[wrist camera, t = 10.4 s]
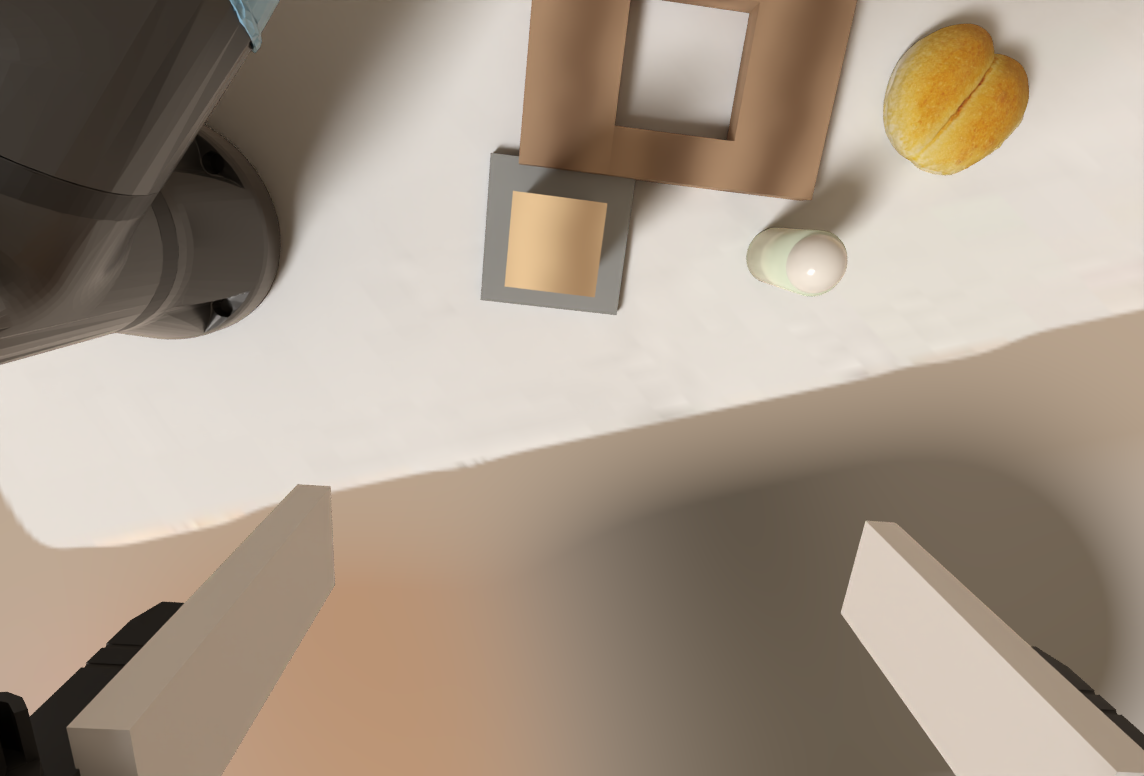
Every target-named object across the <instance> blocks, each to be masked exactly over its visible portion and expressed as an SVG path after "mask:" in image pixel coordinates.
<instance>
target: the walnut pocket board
mask: <svg viewBox="0 0 1144 776" xmlns="http://www.w3.org/2000/svg"><path fill="white" fill-rule="evenodd" d="M664 1H671V2H678V3H685V4H691V5H698V6H705V7H712V8H719V9H726V10H733V11H739V12H746V13H750V14H749V19H748V25H747V30H746V36H745V41H744V47H743V52H742V58H741V63H740V69H739V74H738V80H737V85H736V91H735V96H734V102H733V107H732V113H731V119H730V124H729V130H728V135H727V140H720V139H713V138H705V137H698V136H690V135H683V134H675V133H667V132H660V131H652V130H645V129H637V128H629V127H622V126H615V118H616V110H617V103H618V95H619V87H620V79H621V71H622V63H623V55H624V47H625V39H626V32H627V24H628V16H629V8H630V0H532V7H531V19H530V31H529V43H528V55H527V67H526V79H525V91H524V104H523V116H522V128H521V140H520V152H519V164H520V165H528V166H536V167H544V168H552V169H560V170H568V171H576V172H583V173H591V174H599V175H607V176H615V177H623V178H631V179H636V180H640V181H648V182H656V183H664V184H672V185H680V186H688V187H696V188H704V189H712V190H720V191H728V192H735V193H743V194H751V195H759V196H767V197H775V198H783V199H791V200H799V201H801V200H812V196H813V191H814V187H815V183H816V178H817V174H818V169H819V165H820V161H821V156H822V152H823V148H824V143H825V139H826V134H827V130H828V126H829V121H830V117H831V113H832V108H833V104H834V99H835V95H836V91H837V86H838V82H839V78H840V73H841V69H842V64H843V60H844V56H845V51H846V47H847V42H848V38H849V34H850V29H851V25H852V21H853V16H854V12H855V7H856V3H857V0H664Z"/></svg>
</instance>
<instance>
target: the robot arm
mask: <svg viewBox="0 0 1144 776" xmlns="http://www.w3.org/2000/svg"><path fill="white" fill-rule="evenodd" d="M279 1H280V0H0V365H1V364H5V363H9V362H12V361H16V360H19V359H23V358H27V357H30V356H34V355H37V354H41V353H45V352H48V351H52V350H55V349H59V348H63V347H66V346H70V345H73V344H77V343H80V342H84V341H88V340H91V339H95V338H98V337H102V336H105V335H108V334H112V333H120V334H128V335H135V336H142V337H150V338H157V339H187V338H194V337H199V336H203V335H206V334H209V333H212V332H215V331H218V330H221V329H224V328H226V327H229V326H231V325H233V324H235V323H237V322H239V321H240V320H242V319H243V318H245V317H246V316H247V315H249V314H250V313H251V312H252V311H253V310H254V309H255V308H256V307H257V306H258V305H259V304H260V303H261V301H262V300H263V299H264V297H265V296H266V294H267V293H268V291H269V289H270V287H271V285H272V283H273V281H274V278H275V275H276V272H277V268H278V263H279V257H280V232H279V225H278V220H277V216H276V212H275V209H274V206H273V203H272V200H271V198H270V196H269V193H268V191H267V189H266V187H265V185H264V184H263V182H262V180H261V179H260V177H259V175H258V174H257V172H256V171H255V170H254V168H253V167H252V165H251V164H250V163H249V162H248V160H247V159H246V158H245V157H244V156H243V155H242V154H241V153H240V152H239V151H238V150H237V149H236V148H235V147H234V146H233V145H232V144H231V143H229V142H228V141H227V140H226V139H224V138H223V137H222V136H221V135H219V134H218V133H216V132H215V131H213V130H212V129H210V128H208V127H206V126H205V125H203V124H204V123H205V121H206V120H207V118H208V117H209V115H210V114H211V112H212V110H213V109H214V107H215V106H216V104H217V103H218V101H219V99H220V98H221V96H222V95H223V93H224V92H225V90H226V89H227V87H228V85H229V84H230V82H231V81H232V79H233V78H234V76H235V75H236V73H237V71H238V70H239V68H240V67H241V65H242V64H243V62H244V60H245V59H246V57H247V56H248V54H249V53H250V51H252V52H254V53H256V52H257V51H258V49H259V48H260V46H261V43H262V39H261V33H262V31H263V29H264V27H265V26H266V24H267V22H268V20H269V19H270V17H271V15H272V13H273V12H274V10H275V8H276V6H277V4H278V3H279ZM334 586H335V576H334V553H333V531H332V509H331V486H315V485H300V484H298V485H297V486H296V487H295V488H294V489H293V490H292V491H291V492H290V493H289V494H288V495H287V496H286V497H285V498H284V499H283V500H282V501H281V502H280V503H279V505H278V506H277V507H276V508H275V509H274V510H273V511H272V512H271V513H270V514H269V515H268V516H267V517H266V518H265V519H264V520H263V521H262V522H261V523H260V525H259V526H258V527H257V528H256V529H255V530H254V531H253V532H252V533H251V534H250V535H249V536H248V537H247V538H246V539H245V540H244V541H243V542H242V543H241V545H240V546H239V547H238V548H237V549H236V550H235V551H234V552H233V553H232V554H231V555H230V556H229V557H228V558H227V559H226V560H225V561H224V562H223V563H222V564H221V565H220V566H219V568H218V569H217V570H216V571H215V572H214V573H213V574H212V575H211V576H210V577H209V578H208V579H207V580H206V581H205V582H204V583H203V584H202V585H201V587H199V589H198V590H197V591H196V592H195V593H194V594H193V595H192V596H191V597H190V598H189V599H188V600H187V601H186V602H185V603H176V602H161V603H159V604H158V605H156V606H154V607H152V608H151V609H149V610H147V611H146V612H144V613H142V614H141V615H139V616H137V617H135V618H134V619H132V620H130V622H128V623H127V624H126V625H125V626H124V627H123V628H122V629H121V630H120V631H119V632H118V633H117V634H116V635H115V636H114V637H113V638H112V639H111V640H109V642H107V644H106V647H105V648H101V649H100V650H99V651H98V652H97V653H96V654H95V655H94V656H93V657H92V658H91V659H90V660H89V661H88V662H87V664H86V666H85V668H80V669H79V670H78V671H77V672H76V673H75V674H74V675H73V676H72V677H71V678H70V679H69V680H68V681H67V682H66V683H65V684H64V685H62V686H61V687H60V688H59V689H58V690H57V691H56V692H55V693H54V694H53V695H52V696H51V697H50V698H49V699H48V700H47V701H46V702H45V703H44V704H43V705H42V706H41V707H40V708H38V709H37V710H36V712H34V713H33V714H32V715H31V716H30V717H29V713H28V709H27V707H26V704H25V702H24V700H23V698H22V697H20V696H17V695H14V694H12V693H9V692H0V776H221V775H222V774H223V772H224V770H225V769H226V767H227V765H228V764H229V762H230V760H231V759H232V757H233V755H234V754H235V752H236V750H237V749H238V747H239V745H240V744H241V742H242V740H243V738H244V737H245V735H246V733H247V731H248V730H249V728H250V727H251V725H252V723H253V722H254V720H255V718H256V717H257V715H258V713H259V712H260V710H261V708H262V707H263V705H264V703H265V702H266V700H267V698H268V696H269V695H270V693H271V691H272V690H273V688H274V686H275V685H276V683H277V681H278V680H279V678H280V676H281V675H282V673H283V671H284V670H285V668H286V666H287V664H288V663H289V661H290V660H291V658H292V656H293V655H294V653H295V651H296V649H297V648H298V646H299V644H300V643H301V641H302V639H303V638H304V636H305V634H306V632H307V631H308V629H309V628H310V626H311V624H312V623H313V621H314V619H315V617H316V616H317V614H318V613H319V611H320V609H321V607H322V606H323V604H324V602H325V601H326V599H327V597H328V596H329V594H330V592H331V590H332V589H333V587H334ZM841 614H842V615H843V617H844V618H845V619H846V621H847V622H848V624H849V625H850V626H851V628H852V629H853V631H854V632H855V634H856V635H857V637H858V638H859V639H860V641H861V642H862V643H863V645H864V646H865V648H866V649H867V650H868V652H869V653H870V655H871V656H872V658H873V659H874V661H875V662H876V663H877V665H878V666H879V668H880V669H881V670H882V672H883V673H884V675H885V676H886V677H887V679H888V680H889V682H890V683H891V684H892V686H893V687H894V689H895V690H896V692H897V693H898V694H899V696H900V697H901V699H902V700H903V701H904V703H905V704H906V706H907V707H908V708H909V710H910V711H911V713H912V714H913V715H914V717H915V718H916V720H917V721H918V723H919V724H920V725H921V727H922V728H923V730H924V731H925V732H926V734H927V735H928V737H929V738H930V739H931V741H932V742H933V744H934V745H935V746H936V748H937V749H938V751H939V752H940V754H941V755H942V756H943V758H944V759H945V761H946V762H947V763H948V765H949V766H950V768H951V769H952V770H953V772H954V773H955V775H956V776H1144V734H1143V733H1142V732H1140V731H1139V730H1138V729H1137V728H1136V727H1135V726H1134V725H1133V724H1131V723H1130V722H1129V721H1128V720H1127V719H1126V718H1124V716H1122V715H1118V714H1117V713H1116V709H1115V708H1113V707H1112V706H1111V705H1110V704H1109V703H1108V702H1107V701H1106V700H1104V699H1103V698H1102V697H1101V696H1100V695H1095V693H1094V690H1093V689H1092V688H1091V687H1090V686H1089V685H1087V684H1086V683H1085V682H1084V681H1083V680H1082V679H1081V678H1080V677H1079V676H1077V675H1076V674H1075V673H1074V672H1073V671H1072V670H1071V669H1070V668H1068V667H1067V666H1065V665H1064V664H1062V663H1061V662H1059V661H1058V660H1056V659H1054V658H1053V657H1051V656H1050V655H1048V654H1046V653H1045V652H1043V651H1042V650H1040V649H1039V648H1037V647H1031V646H1029V645H1028V644H1027V643H1026V642H1025V641H1024V640H1023V639H1022V638H1020V636H1019V635H1017V634H1016V633H1015V632H1014V631H1013V630H1012V629H1011V628H1010V627H1009V626H1008V625H1007V624H1005V623H1004V622H1003V621H1002V620H1001V619H1000V618H999V617H998V616H997V615H995V613H993V612H992V611H991V610H990V609H989V608H988V607H987V606H986V605H985V604H984V603H982V602H981V601H980V600H979V599H978V598H977V597H976V596H975V595H974V594H973V593H971V591H969V590H968V589H967V588H966V587H965V586H964V585H963V584H962V583H961V582H960V581H959V580H957V579H956V578H955V577H954V576H953V575H952V574H951V573H950V572H949V571H948V570H946V569H945V568H944V567H943V566H942V565H941V564H940V563H939V562H938V561H937V560H936V559H935V558H933V557H932V556H931V555H930V554H929V553H928V552H927V551H926V550H924V548H922V547H921V546H920V545H919V544H918V543H917V542H916V541H915V540H914V539H913V538H912V537H910V536H909V535H908V534H907V533H906V532H905V531H904V530H903V529H902V528H901V527H900V526H898V525H897V524H896V523H891V522H877V521H866V522H865V526H864V529H863V533H862V537H861V540H860V544H859V548H858V552H857V555H856V559H855V563H854V566H853V570H852V574H851V577H850V581H849V585H848V589H847V592H846V596H845V600H844V603H843V607H842V611H841Z"/></svg>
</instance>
